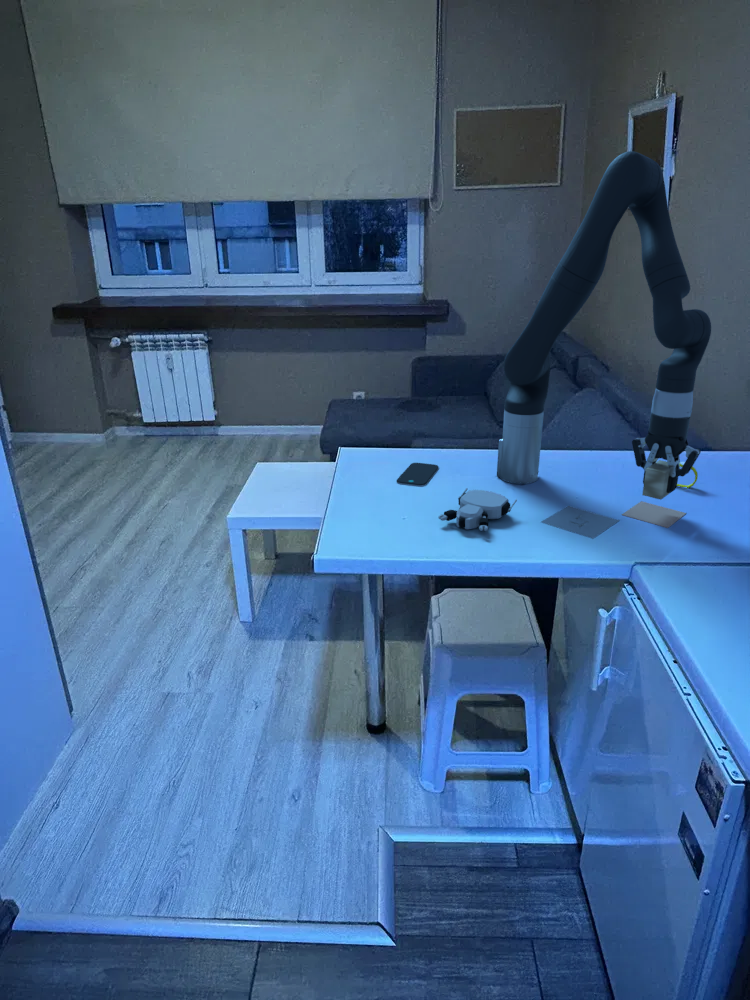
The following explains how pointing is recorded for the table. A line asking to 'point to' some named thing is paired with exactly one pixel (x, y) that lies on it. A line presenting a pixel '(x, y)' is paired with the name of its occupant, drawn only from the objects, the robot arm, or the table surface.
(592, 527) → the board
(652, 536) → the table surface
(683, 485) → the watch
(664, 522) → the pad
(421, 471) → the smartphone
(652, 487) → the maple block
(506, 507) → the robot toy
